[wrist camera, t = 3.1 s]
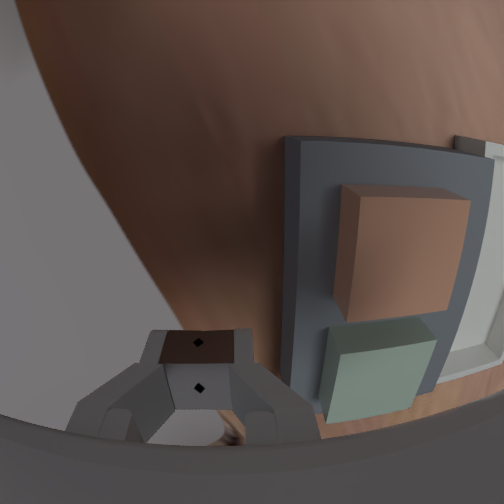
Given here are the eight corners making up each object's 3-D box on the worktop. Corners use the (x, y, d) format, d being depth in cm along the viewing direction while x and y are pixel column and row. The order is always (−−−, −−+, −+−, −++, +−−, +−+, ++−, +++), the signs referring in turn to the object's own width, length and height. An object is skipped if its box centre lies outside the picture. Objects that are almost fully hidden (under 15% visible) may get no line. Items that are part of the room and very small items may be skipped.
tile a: (341, 184, 15) (360, 196, 12) (443, 188, 15) (470, 200, 12) (332, 296, 17) (346, 322, 15) (425, 288, 17) (446, 310, 15)
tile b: (329, 326, 18) (340, 354, 15) (418, 316, 18) (437, 339, 16) (318, 396, 20) (325, 423, 18) (397, 383, 20) (409, 408, 18)
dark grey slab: (284, 135, 18) (300, 140, 14) (449, 148, 19) (494, 159, 14) (279, 370, 25) (287, 416, 21) (409, 354, 26) (432, 391, 21)
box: (455, 135, 18) (485, 141, 15) (531, 153, 19) (558, 161, 16) (411, 361, 26) (426, 386, 23) (484, 344, 26) (501, 363, 23)
